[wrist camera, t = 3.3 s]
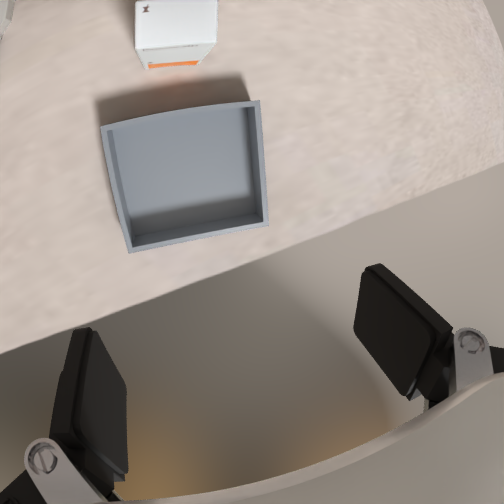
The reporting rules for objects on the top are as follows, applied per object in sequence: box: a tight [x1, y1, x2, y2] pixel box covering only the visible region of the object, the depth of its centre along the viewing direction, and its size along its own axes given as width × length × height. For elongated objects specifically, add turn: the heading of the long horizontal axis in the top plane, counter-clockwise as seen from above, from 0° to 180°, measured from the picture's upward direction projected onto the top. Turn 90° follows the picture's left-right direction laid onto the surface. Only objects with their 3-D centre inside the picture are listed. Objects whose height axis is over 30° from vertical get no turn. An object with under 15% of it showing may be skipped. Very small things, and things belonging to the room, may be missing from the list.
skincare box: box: [134, 0, 218, 69], centre depth 21 cm, size 6×4×12 cm
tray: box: [100, 100, 269, 253], centre depth 31 cm, size 16×14×4 cm
